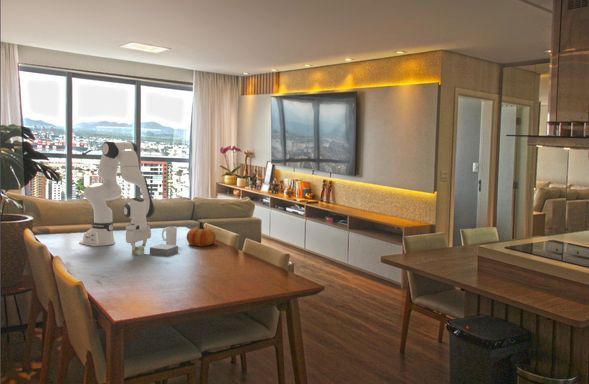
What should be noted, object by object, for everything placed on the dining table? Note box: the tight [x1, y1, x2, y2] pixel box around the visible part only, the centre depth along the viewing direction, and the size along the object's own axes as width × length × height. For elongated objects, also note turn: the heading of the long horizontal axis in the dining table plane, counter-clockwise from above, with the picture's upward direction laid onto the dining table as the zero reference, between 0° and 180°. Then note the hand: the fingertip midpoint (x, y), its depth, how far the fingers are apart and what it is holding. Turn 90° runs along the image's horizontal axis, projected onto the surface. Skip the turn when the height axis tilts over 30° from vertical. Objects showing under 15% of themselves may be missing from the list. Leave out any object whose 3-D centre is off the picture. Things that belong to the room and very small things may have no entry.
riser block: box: [149, 243, 179, 257], centre depth 304 cm, size 12×12×4 cm
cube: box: [131, 244, 145, 256], centre depth 299 cm, size 5×5×5 cm
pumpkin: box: [186, 221, 217, 247], centre depth 332 cm, size 19×19×15 cm
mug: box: [161, 226, 178, 246], centre depth 326 cm, size 10×7×12 cm, turn 77°
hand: (139, 248), depth 299 cm, fingers open, 8 cm apart
